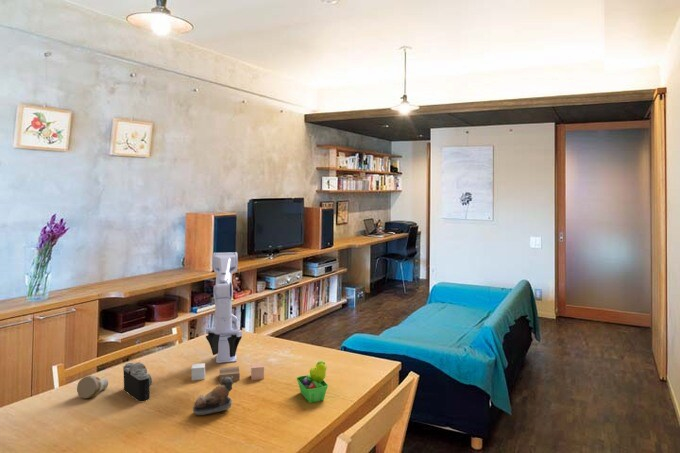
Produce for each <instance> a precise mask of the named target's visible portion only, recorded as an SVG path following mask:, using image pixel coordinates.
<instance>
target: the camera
mask: <svg viewBox="0 0 680 453" xmlns="http://www.w3.org/2000/svg"><path fill="white" fill-rule="evenodd" d="M122 371H123V391H124V390H125V391H126V392H125V391H124V392H125V393H127V392H128V393H129V394H130V395H129V394H128V393H127V394H128V395H129V396H130V397H132V396H133V397H134V398H133V397H132V398H133V399H135V400H136V399H137V400H136V401H138V402H139V401H144V402H147V401H149V400H150V399H149V398H151V397H150V394H151V393H150V388H151V386H152V384H153V380H152V379H153V378H152V375H151V374H150V373H148V369H147V367H146V366H145V364H144V363H142V362H140V361H138V362H135V363H133V362H127V363H125V365H124V366H122ZM148 399H149V400H148ZM146 400H147V401H146Z"/></svg>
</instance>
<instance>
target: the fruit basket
mask: <svg viewBox="0 0 680 453" xmlns="http://www.w3.org/2000/svg"><path fill="white" fill-rule="evenodd" d="M326 371H327V366H326V362H324V361H323V360H318V362H317V363H316V364H315V365H314V366H312V367H311V368H310V369H309V374H306V375H301V376H297V377H296V381H297V383H298V387H299V391H300V393H301V395H302V396H303V397H304V398H305V400H306V401H307V402H308V403H309V404H311V403H315V402H320V401H325V398H326V392H327V389H328V387H329V384H328V383H327V382H326V381H325V378H326V377H327V376H326V375H327V372H326Z"/></svg>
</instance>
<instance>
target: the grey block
mask: <svg viewBox="0 0 680 453" xmlns="http://www.w3.org/2000/svg"><path fill="white" fill-rule="evenodd" d="M205 378H206V363H205V362H203V363H202V362H201V363H192V365H191V381H199V380H205Z"/></svg>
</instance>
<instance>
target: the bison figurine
mask: <svg viewBox="0 0 680 453" xmlns="http://www.w3.org/2000/svg"><path fill="white" fill-rule="evenodd" d="M232 380H233V377H232V378H230V377H225V378H223V377H222V382H220V385H217V386H216V387H215V388H213V389H212V390H211V391H209V392H208V393H207V394H206V395H203V394H200V395H199V396H198V397H197V399H196V400H195V402H194V405H193V406H192V411H193V414H195V415H199V416H201V415H202V416H205V415H211V414H216V413H219V412H223V411H226V410H227V409H228V410H229V409H230V408H231V407H232V404H233V402H232V400H233V399H232V398H231V397H229V394H230V392H231V390H232V389H233V385H234V381H232Z"/></svg>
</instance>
